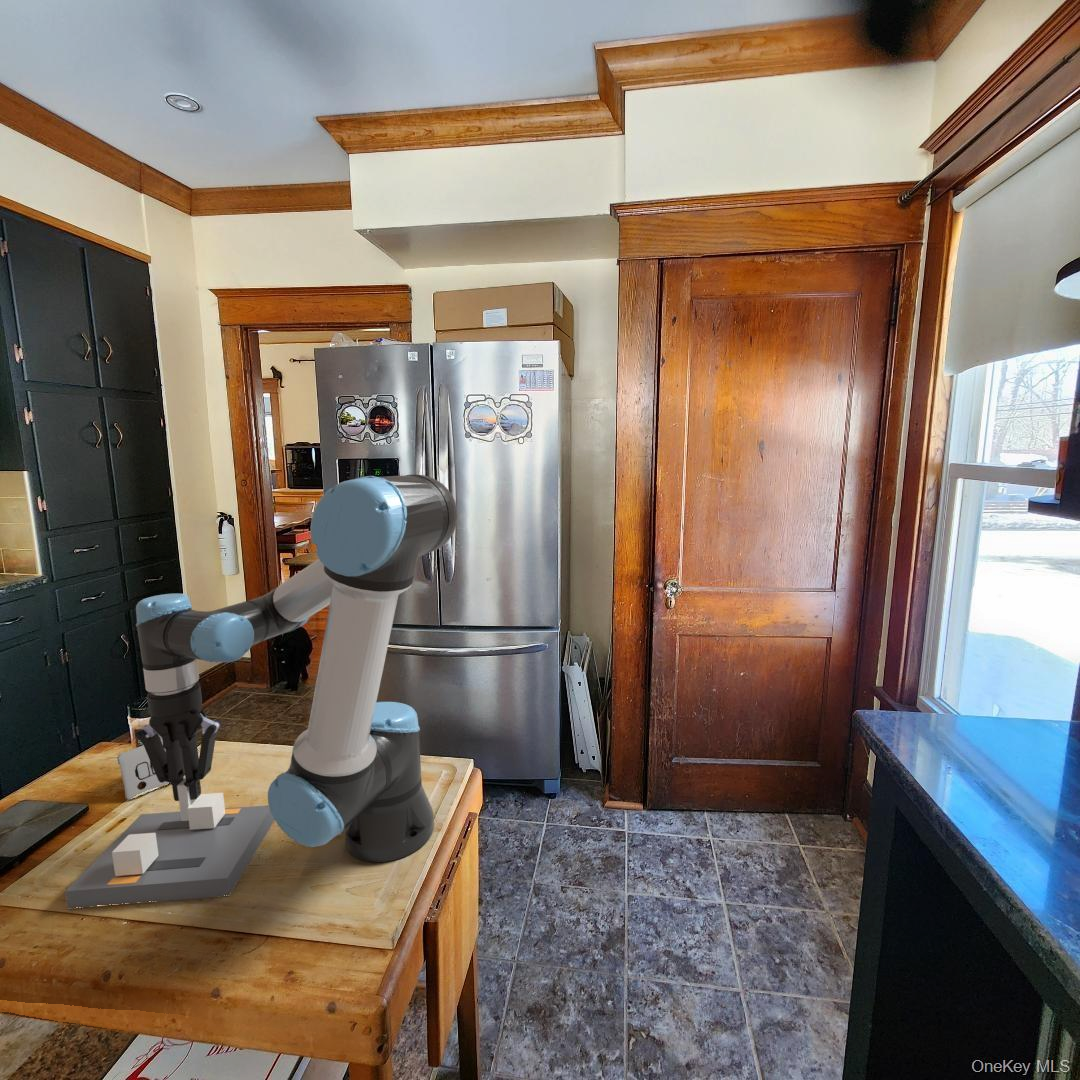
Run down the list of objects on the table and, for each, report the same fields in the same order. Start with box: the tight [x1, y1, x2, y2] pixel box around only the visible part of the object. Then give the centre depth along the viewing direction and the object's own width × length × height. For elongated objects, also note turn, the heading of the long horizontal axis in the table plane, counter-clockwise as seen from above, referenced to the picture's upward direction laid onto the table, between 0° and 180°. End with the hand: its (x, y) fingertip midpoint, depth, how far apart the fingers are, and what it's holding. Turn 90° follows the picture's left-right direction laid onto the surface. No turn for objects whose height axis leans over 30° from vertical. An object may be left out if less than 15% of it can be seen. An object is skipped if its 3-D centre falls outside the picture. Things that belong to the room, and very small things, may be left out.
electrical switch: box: [116, 738, 170, 801], centre depth 113 cm, size 9×5×9 cm, turn 141°
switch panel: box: [64, 804, 276, 909], centre depth 92 cm, size 23×18×3 cm
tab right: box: [187, 792, 226, 830], centre depth 96 cm, size 4×4×4 cm
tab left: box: [112, 833, 159, 876], centre depth 86 cm, size 4×4×4 cm
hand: (190, 815), depth 96 cm, fingers closed
